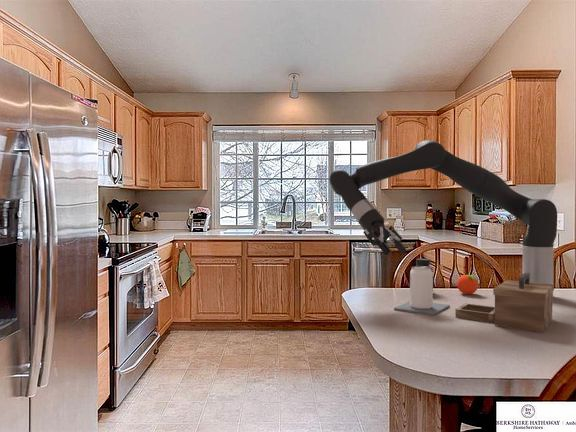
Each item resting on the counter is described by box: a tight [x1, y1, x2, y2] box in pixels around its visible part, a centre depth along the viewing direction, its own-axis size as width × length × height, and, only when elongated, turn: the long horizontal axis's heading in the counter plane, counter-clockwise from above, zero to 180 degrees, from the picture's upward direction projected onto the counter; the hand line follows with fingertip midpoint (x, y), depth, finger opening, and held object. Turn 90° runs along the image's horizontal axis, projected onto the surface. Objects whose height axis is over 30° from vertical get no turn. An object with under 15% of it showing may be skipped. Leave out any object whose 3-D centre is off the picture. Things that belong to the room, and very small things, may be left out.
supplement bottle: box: [415, 258, 434, 274], centre depth 158 cm, size 7×7×12 cm
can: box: [409, 265, 434, 309], centre depth 132 cm, size 6×6×12 cm
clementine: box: [456, 273, 479, 295], centre depth 154 cm, size 8×7×7 cm
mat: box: [393, 300, 451, 317], centre depth 133 cm, size 14×12×1 cm
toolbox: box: [454, 273, 555, 334], centre depth 119 cm, size 17×22×13 cm
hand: (396, 252), depth 139 cm, fingers open, 8 cm apart
